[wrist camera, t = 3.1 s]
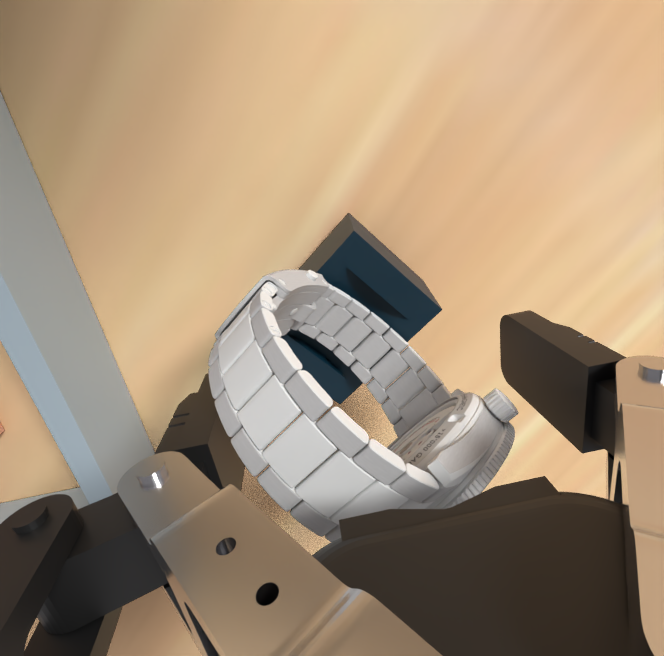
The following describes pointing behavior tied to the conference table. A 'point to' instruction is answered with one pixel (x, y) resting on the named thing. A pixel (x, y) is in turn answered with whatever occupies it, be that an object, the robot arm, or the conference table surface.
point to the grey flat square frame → (59, 338)
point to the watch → (349, 390)
